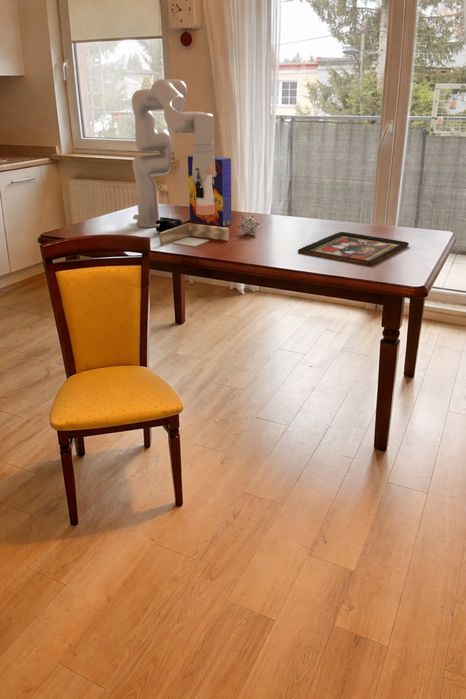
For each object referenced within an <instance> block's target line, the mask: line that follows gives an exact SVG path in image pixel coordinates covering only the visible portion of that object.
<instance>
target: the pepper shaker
mask: <svg viewBox="0 0 466 699" xmlns="http://www.w3.org/2000/svg"><path fill="white" fill-rule="evenodd" d="M213 171H214V169H213V167H208V168H207V170H206V174H207V179H206V180H204V182H203V187H202V188H204V198H197V204H196V213H197V214H199V215H212V214H214V213H215V207H214V203H213V199H214V195H213V189H212V174H213ZM199 179H201V178H199ZM200 182H201V181H199V183H200Z"/></svg>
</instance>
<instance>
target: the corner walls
mask: <svg viewBox="0 0 466 699" xmlns="http://www.w3.org/2000/svg"><path fill="white" fill-rule="evenodd" d="M229 229H230V228H229V227H224V226H217V225H209V224H207V225H205V224H198V223H191V222H190V223H189V222H188V223H183V225H181V226H178V227H175V228H172V229H169V230H166V231H164V232H161V233H160V235H159V245H160V246H166V245H168V244H171V243H173V242H176V241H179V240H181V239H184V238H186V237H191V236H192V237H197V238H204V239H205V238H206V239H212V240H213V239H214V240H219V239H220V241H225V242H226V241H229V240H230V239H229V238H230V236H229V235H230V234H229Z"/></svg>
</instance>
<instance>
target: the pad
mask: <svg viewBox="0 0 466 699" xmlns="http://www.w3.org/2000/svg"><path fill="white" fill-rule="evenodd" d="M209 241H210V239H205V238H199V237H197V238H196V237H191V236H186V237H184V238H181V239H178V240H176V241H173V242H172V244H174V245H180V246H181V245H182V246H188V247H197V246H200V245H203V244H205V243H207V242H209Z"/></svg>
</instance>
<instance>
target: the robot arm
mask: <svg viewBox="0 0 466 699" xmlns="http://www.w3.org/2000/svg"><path fill="white" fill-rule="evenodd" d="M187 96H188V88H187V85H186V84H185V82H184V81H183V80H181V79H177V78H175V79H174V78H171V79H168V78H167V79H159V80H155V81H154V82H153V83H152V84H151V88H146V89H144V88H143V89H139V90H136V91H135V92H133V94H132V96H131V97H132V98H131V107H132V111H133V114H134V124H135V126H134V129H135V132H134V134H135V135H134V136H135V146H136V149H137V151H139V152H142V153H148V154H140V155H137V156H135V157H134V158H133V159H132V165H131V166H132V170H133V174H134V177H135V179H134V180H135V188H136V198H137V200H136V201H137V212H138V214H136V213H135V214H134V215H133V217H132V219H133V220H136V222H135V226H136V227H137V228H143V229H144V228H145V229H147V228H148V229H149V228H150V229H152V228H156V227H159V226H160V224H157V225H156V221H157V220H160V211H159V210H160V209H159V208H160V207H159V193H158V192H159V191H158V185H157V183H156V181H155V180H154V178H153V177H155V176H156V177H157V176H164V175H167V174H169V173H170V171H171V165H172V139H171V136H170V133H169V131H168V130H167V129H165V128H160V127H159V128H156V119H155V116H154V115H153V112H154V111H155V112H156V111H157V112H158V111H163V116H164V121H165V123H166V125H167V126H168V127H169V129H171V130H172V131H173V132H174V133H177V134H191V133H192V134H193V147H194V148H193V150H194V151H193V152H194V153H193V154H192V155H193V165H192V180H193V182H194V184H195V187H196V198H204V188H202V187H203V182H204V180H206V179H207V174H206V170H207V168H208V167H213V169H214V171H213V174H212V189H213V195H214V185H213V184H214V183H215V182H214V181H215V177H216V174H217V173H216V171H215V157H216V156H215V130H214V129H215V124H214V123H215V120H214V118H215V117H214V115H213V114H212V113H209V112H208V113H207V112H203V111H183V110H184V109H185V107H186V98H187ZM151 152H157V153H151ZM199 178H201V179H199ZM199 181H201V182H200V183H199Z"/></svg>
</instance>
